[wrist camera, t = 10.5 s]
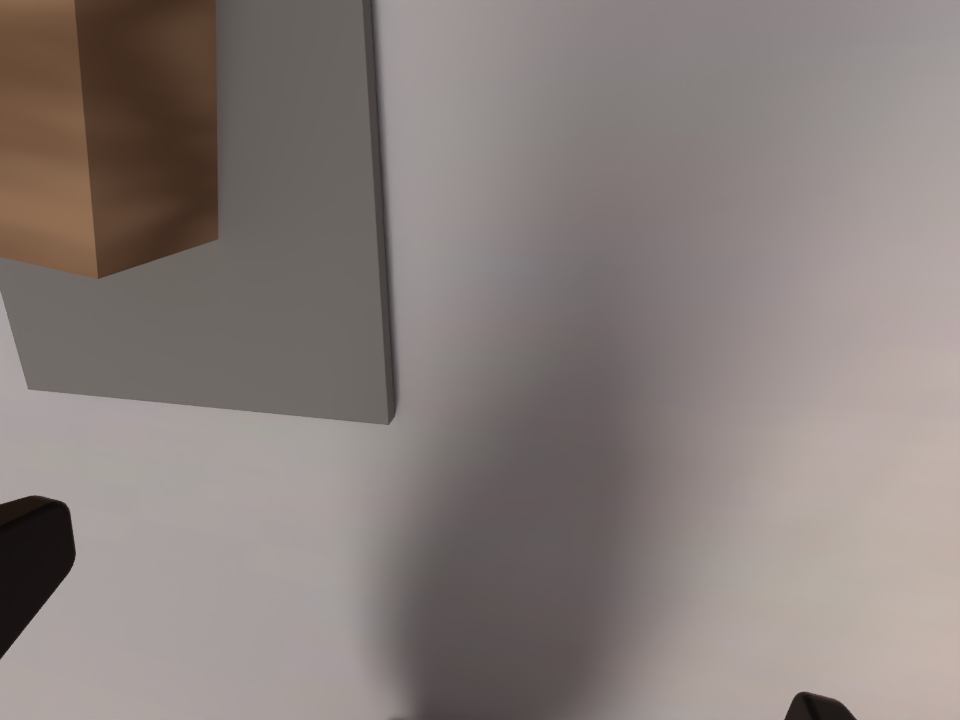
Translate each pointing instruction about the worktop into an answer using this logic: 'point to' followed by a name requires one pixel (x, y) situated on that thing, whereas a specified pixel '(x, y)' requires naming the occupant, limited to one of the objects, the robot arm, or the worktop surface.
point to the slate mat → (248, 246)
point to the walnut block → (107, 132)
